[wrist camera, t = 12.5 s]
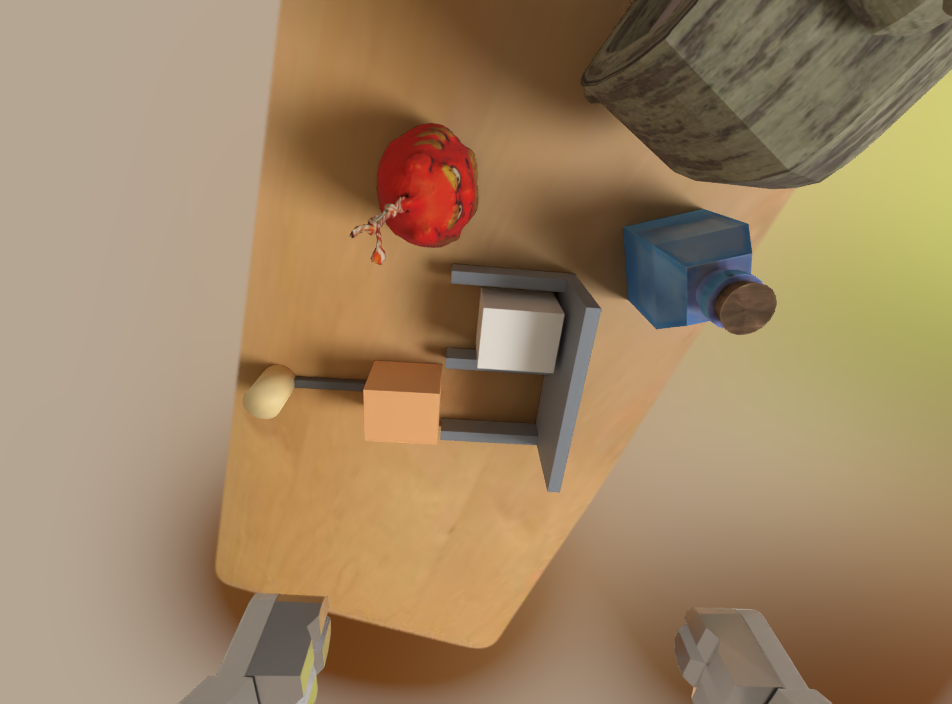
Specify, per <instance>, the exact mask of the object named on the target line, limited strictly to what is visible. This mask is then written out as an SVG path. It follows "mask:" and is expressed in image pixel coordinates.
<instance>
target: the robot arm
mask: <svg viewBox="0 0 952 704" xmlns="http://www.w3.org/2000/svg"><path fill="white" fill-rule="evenodd" d="M328 608H329V601H328V596H311V595H287V594H269V593H256V594H255V595H254V596H253V598H252V599H251V601H250V602H249V604H248V606H247V609H246V610H245V613H244V615H243V617H242V619H241V621H240V624H239V626H238V628H237V630H236V632H235V635H234V637H233V639H232V641H231V644H230V646H229V648H228V650H227V652H226V655H225V657H224V659H223V661H222V663H221V665H220V667H219V670H218V672H217V674H216V676H208V677H207V678H205V679H204V680H203V681H202V682H201V683H200V684H199V685H198V686H197V687H196V688H195V689H193V690H192V691H191V692H190V693H189V694H188V695H187V696H186V697H185V698H184V699H182V700H181V701H180V702H179V703H178V704H315V699H316V696H317V692H318V687H317V677H316V675H317V674H318V673H319V672H320V671H321V670H322V669H323V668H324V665H325V661H326V657H327V653H328V648H329V642H330V633H331V623H330V618H329V617H327V612H328ZM684 619H685V621H686V623H687V624H686V625H684V626H683V627H681V628H680V629H678V631H677V634H676V636H675V655H676V659H677V663H678V666H679V668H680V671H681V674H682V676H683V677H684V678H685V679H686V680H687V681H688V682H689V683H690V684H691V685H692V686H693V687H694V688H693V693H692V698H691V699H692V701H693V703H694V704H832V703H831V702H830V701H829V700H827V699H826V698H825V697H824V696H823V695H821V694H820V693H819V692H818V691H817V690H813V689H808V687H807V685H806V684H805V682H804V680H803V679H802V677H801V676H800V674H799V672H798V671H797V669H796V668H795V666H794V664H793V663H792V661H791V660H790V658H789V656H788V655H787V653H786V652H785V650H784V648H783V647H782V646H781V644H780V642H779V641H778V639H777V637H776V636H775V634H774V632H773V631H772V629H771V628H770V626H769V625H768V623H767V621H766V620H765V618H764V617H763V615H762V614H760V613H759V612H758V611H757V610H752V609H732V608H691V609H689V610H687V612H686V614H685V616H684Z"/></svg>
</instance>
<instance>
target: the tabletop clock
mask: <svg viewBox="0 0 952 704" xmlns="http://www.w3.org/2000/svg"><path fill="white" fill-rule="evenodd" d="M951 69H952V0H634V1H633V3H632V4H631V6H630V7H629V9H628V10H627V11H626V13H625V14H624V16H623V17H622V18H621V20H620V21H619V23H618V24H617V25H616V27H615V28H614V30H613V31H612V32H611V34H610V35H609V37H608V38H607V40H606V41H605V42H604V44H603V45H602V47H601V48H600V50H599V51H598V53H597V54H596V56H595V57H594V58H593V60H592V62H591V63H590V65H589V66H588V68H587V69H586V71H585V72H584V74H583V75H582V78H581V85H582V86H583V87H584V91H585V98H586V99H587V100H588V101H589V102H590V103H601V104H602V105H604V106H605V107H606V108H607V109H608V110H609V111H610V112H611V113H612V114H613V115H614V116H615V117H616V118H617V119H618V120H619V121H621V122H622V123H623V124H624V125H625V126H626V127H627V128H628V129H629V130H630V131H631V132H632V133H633V134H634V135H635V136H636V137H637V138H639V139H640V140H641V141H642V142H643V143H644V144H645V145H646V146H647V147H648V148H649V149H650V150H651V151H652V152H653V153H654V154H655V155H657V156H658V157H659V158H660V159H661V160H662V161H663V162H664V163H665V164H666V165H667V166H668V167H669V168H670V169H672V170H673V171H674V172H676V173H678V174H681V175H683V176H686V177H688V178H690V179H693V180H695V181H703V182H712V183H722V184H731V185H740V186H749V187H758V188H768V189H787V188H797V187H802V186H806V185H810V184H815V183H819V182H821V181H823V180H824V179H826V178H827V177H829V176H830V175H832V174H833V173H835V172H836V171H837V170H839V169H840V168H842V167H843V166H845V165H846V164H847V163H849V162H850V161H851V160H853V159H854V158H855V157H856V156H858V155H859V154H860V153H861V152H863V151H864V150H865V149H866V148H867V147H868V146H869V145H871V144H872V143H873V142H874V141H875V140H876V139H877V138H878V137H880V136H881V135H882V134H883V133H884V132H885V131H886V130H887V129H888V128H889V127H890V126H891V125H892V124H893V123H895V122H896V121H897V120H898V119H899V118H900V117H901V116H902V115H903V114H904V113H905V112H906V111H907V110H908V109H909V108H911V107H912V106H913V105H914V104H915V103H916V102H917V101H918V100H919V99H920V98H921V97H922V96H923V95H924V94H926V93H927V92H928V91H929V90H930V89H931V88H932V87H933V86H934V85H935V84H936V83H937V82H938V81H939V80H940V79H942V78H943V77H944V76H945V75H946V74H947V73H948V72H949V71H950V70H951Z"/></svg>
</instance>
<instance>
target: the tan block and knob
mask: <svg viewBox="0 0 952 704" xmlns="http://www.w3.org/2000/svg"><path fill="white" fill-rule="evenodd" d="M441 379H442V364H427V363H410V362H393V361H374V363H373V366H372V368H371V371H370V374H369V376H368V379H367V380H349V379H331V378H313V377H296V376H295V374H294V373H293V372H292V371H291V370H290V369H289V368H287V367H285V366H282V365H272V366H269V367H267V368H266V369H265V370H264V372H263V373H262V374H261V375H260V376H259V378H258V379H257V380H256V381H255V382H254V384H253V385H252V386H251V387H250V389H249V390H248V391H247V392H246V393H245V395H244V397H243V404H244V407H245V409H246V410H247V411H248V412H249V413H250V414H251V415H253V416H255V417H257V418H261V419H270V418H273V417H275V416H276V415H277V414H278V413H279V412H280V410H281V409H282V407H283V406H284V404H285V403H286V401H287V399H288V398H289V396H290V395H291V393H292V392H293V390H294V389H295V388H311V389H329V390H348V391H363V394H364V422H365V441H377V442H398V443H418V444H437V439H438V427H439V414H440V397H441Z"/></svg>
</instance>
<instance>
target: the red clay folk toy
mask: <svg viewBox="0 0 952 704" xmlns="http://www.w3.org/2000/svg"><path fill="white" fill-rule="evenodd" d="M377 192H378V199H379V206H380V210H381V212H382V213H380V214H378V215H377V216H375V217H372V218H370V219H369V220H368V224H367V225H365V224H364V225H360V226H357V227H355V228H354V229H353V231H352V232H351V234H350V237H351V238H354V237H355V236H357V235H358V233H362V232H363V231H364V230H365V231H367V232H368V234H369V235H374V234H375V233H376V236H377V245H376V248H375V250H374V252H373V254H372V257H371V260H372V262H375V263H376V264H380V265H382V264H383V261H385V260H386V255H385V251H384V250H383V249H382V242H381V233H380V231H379V229H380V227H381V226H382V225H383V224H384V223H385V222H386V224H387V225H388V226H389V228H390V229H391V230H392V231H393V233H394V234H395V235H397V236H399V237H401V238H403V239H404V240H406V241H407V242H409V243H411V244H414V245H417V246H422V247H431V248H435V247H442V246H445V245H448V244H449V243H451V242H453V241H456V240H457V239H458V238H459V237H460V234H461V230H462V229H463V227H464V226H465V225H466V224H467V223H468V222H469V220H470V219H471V218H472V217H473V216H474V214H475V213H476V211H477V207H478V186H477V163H476V159H475V154H474V152H473V151H472V150H471V149H469V148H468V147H466V146H464V145H463V144H462V143H461V142H460V140H459V139H458V138H457V137H456V136H455V135H454V134H453V132H451V131H450V130H449V129H448V128H446V127H445V126H443V125H440V124H433V123H431V124H424V125H419V126H417V127H415V128H413V129H411V130H409V131H408V132H406V133H404V134H403V135H402V136H401V137H399V138H397V139H395V140H393V141H392V142H391V143H390V144H389V146H388V147H387V149H386V150H385V152H384V154H383V156H382V158H381V161H380V164H379V168H378V173H377Z"/></svg>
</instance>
